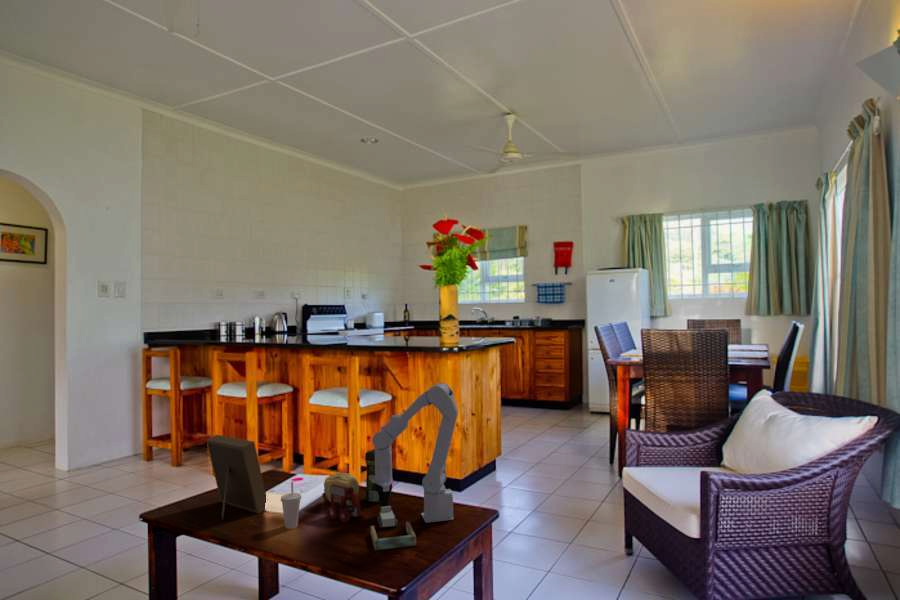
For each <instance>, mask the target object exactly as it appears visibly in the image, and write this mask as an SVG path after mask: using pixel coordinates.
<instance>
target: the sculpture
mask: <svg viewBox="0 0 900 600" xmlns="http://www.w3.org/2000/svg"><path fill="white" fill-rule="evenodd" d="M333 484H336V485H341V486H346V487H348V488H349V487H353V488H354V493H356V494H357V497H358V495H359V492H360V491H359V490H360V486H359V482H358V480H357V478H356V477H355V476H354V475H352V474H350V473H346V472H335V473H334V474H332V475H330V476H327V477H326V478H325V480H324V482H323V487H324V489H323V493H324V494H325V495H326V498H327V500H328V501H329V502H330V503H331V493H330V486H331V485H333Z"/></svg>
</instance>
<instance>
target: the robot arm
mask: <svg viewBox="0 0 900 600" xmlns="http://www.w3.org/2000/svg"><path fill="white" fill-rule="evenodd" d="M431 405H433V406H434V407H435V408H436V409H437V410H438V411H439V412H440V414H441V420H440V425H439V429H438V433H437V437H436V442H435V445H434V448H433V454H432V457H431V461H430V463H429V466H428V469H427V472H426V474H425V476H424V477H423V478H422V482H421V483H422V488H423V512H421V514H420V515H421V517H422V519H423V521H424V522H425V523H435V522H444V521H445V522H446V521H453V520H454V519H455V518H454V496H453V491H452V489H451V488H446V486H445V482H446V480H447V471H446V469H447V459H448V456H449V452H450V447H451V443H452V440H453V436H454V433H455V432H454V431H455V427H456V423H457V418H458V414H459V408H458V406H457V403H456V400H455V393H454V391H453V390H452V388H451V387H450V386H449V385H448V384H447V383H444V382H439V383H437V384H435V385H433V386H431V387H430V388H429V389H428V390H426V391H424V392H423V393H421V394H420V395H419V396H417V398H416V399H415V400H414V401H413V402H412V403H411V405H409V407H408V408H406V410H404V411H403V412H402V413H401V414H399V413H396V414H395V415H394V414H393V415H392V416H391V417H390V418H389V419H390V420H389V421H388V422H387V423H386V424H384V425H382V426H381V427H380V430H379V431H377V432H375V434H373V436H372V444H373V446H374V449H375V479H372V483H376V485H375V488H376V490H377V492H378V496H379V501H380V502H379V505H380V508H381V507H385V506H389V505H388V504H389V499H390V498H389V496H390V493H391V494H392V491H393V485H392V483H393V480H394V479H393V462H392V460H393V457H392V456H393V453H392V444H393V443H394V440H395V439H397V438H398V437H399V436H400V435H401V434H402V433H403V432H404V431H405V430H406V429H407V428H408V427H409V421H410V420H411V419H412V418H413V417H414V416H415V415H416V414H418V413H419V412H420V411H421V410H422V409H423V408H424V407H430V406H431Z"/></svg>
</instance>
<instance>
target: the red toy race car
mask: <svg viewBox="0 0 900 600" xmlns="http://www.w3.org/2000/svg"><path fill="white" fill-rule="evenodd" d="M330 493H331V502H330V506H329V507H328V508H327V510H326V513H327V517H328V518H329V520H336V519H337V518H338V519H339V520H340V522H342V523H347V522H349V521H350V519H351V517H353V518H357V517H359V516H360V515H361V511H362V510H361V503H360V501H359V497H358V496H357V494H356V493H354V488H353V487H349V488H348V487H346V486H341V485H336V484H333V485H331V486H330Z"/></svg>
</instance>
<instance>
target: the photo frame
mask: <svg viewBox="0 0 900 600" xmlns="http://www.w3.org/2000/svg"><path fill="white" fill-rule="evenodd" d="M205 443H206V447H207V450H208V455H209V458H210V461H211V467H212V471H213V474H214V478H215V483H216V487H217V490H218V491H217V492H218V495H219V499H220V503H221V502H223V503H222V510H221V516H222V519H223V520H224V515H225V508H226V505H228V504H230V505H229V506H231V505H233V506H232V507H234V506H237V507H236V508H238V507H239V508H238V509H241V508H243V509H242V510H244V509H246V510H245V511H247V510H249V511H248V512H251V511H252V512H251V513H254V512H255V514H257V513H259V514H261V513H262V512H264V511H265V510H266V509H265V503H266V496H267V493H266V488H265V484H264V479H263V475H262V471H261V465H260V461H259V457H258V452H257V448H256V444H255V441H253V440H248V439H242V438H237V437H231V436H225V435H220V434H214V435H213V436H211V437H209V438H207V439H206V440H205ZM225 503H227V504H225Z"/></svg>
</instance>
